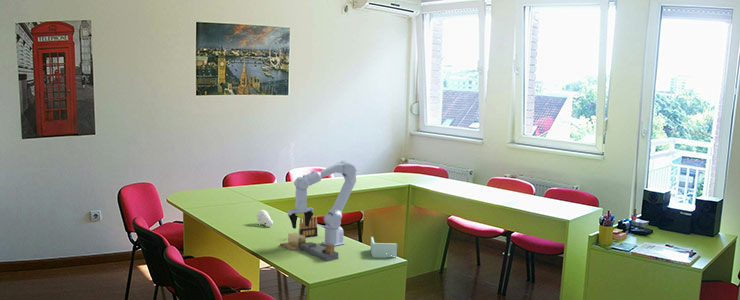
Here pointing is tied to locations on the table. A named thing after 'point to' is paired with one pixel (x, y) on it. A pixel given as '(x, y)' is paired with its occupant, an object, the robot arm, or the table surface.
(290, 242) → the tan rectangular block
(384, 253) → the right angle wall
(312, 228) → the ammunition clip
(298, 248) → the walnut board
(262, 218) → the white toy sheep
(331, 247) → the body
